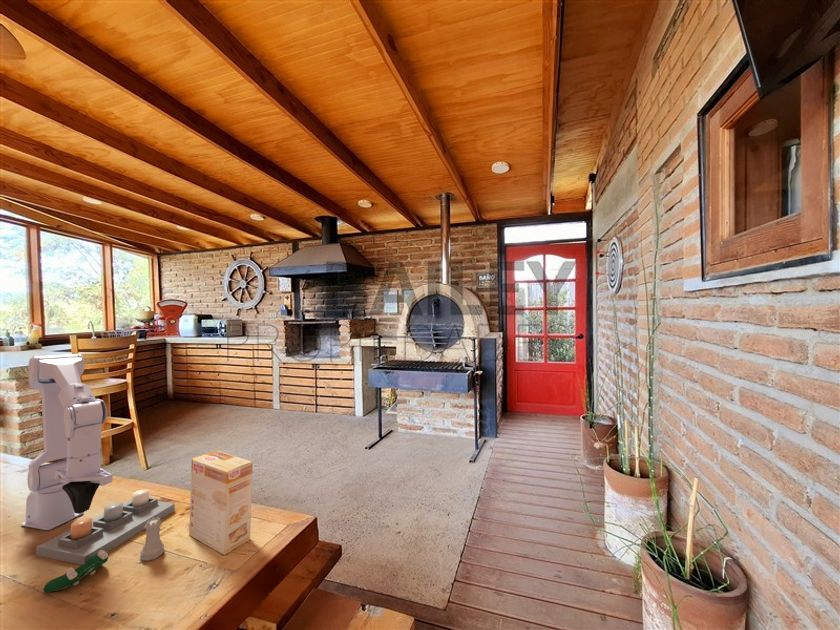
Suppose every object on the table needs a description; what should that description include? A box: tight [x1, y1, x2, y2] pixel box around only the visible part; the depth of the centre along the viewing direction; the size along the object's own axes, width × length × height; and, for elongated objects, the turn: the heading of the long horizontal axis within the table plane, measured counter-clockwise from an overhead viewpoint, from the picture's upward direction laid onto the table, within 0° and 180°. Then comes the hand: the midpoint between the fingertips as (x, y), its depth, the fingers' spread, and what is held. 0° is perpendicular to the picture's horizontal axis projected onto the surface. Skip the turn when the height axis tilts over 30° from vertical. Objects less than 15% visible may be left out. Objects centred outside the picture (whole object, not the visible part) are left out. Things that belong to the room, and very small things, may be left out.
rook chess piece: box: [139, 517, 165, 562], centre depth 79 cm, size 4×4×8 cm
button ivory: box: [131, 489, 150, 507], centre depth 94 cm, size 4×4×3 cm
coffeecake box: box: [188, 450, 254, 556], centre depth 86 cm, size 15×7×20 cm, turn 62°
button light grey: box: [103, 502, 124, 522], centre depth 87 cm, size 4×4×3 cm
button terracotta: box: [70, 517, 92, 540], centre depth 80 cm, size 4×4×3 cm
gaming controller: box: [42, 550, 109, 593], centre depth 72 cm, size 9×4×6 cm
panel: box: [35, 496, 176, 566], centre depth 87 cm, size 14×22×4 cm, turn 169°
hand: (82, 511), depth 81 cm, fingers closed
